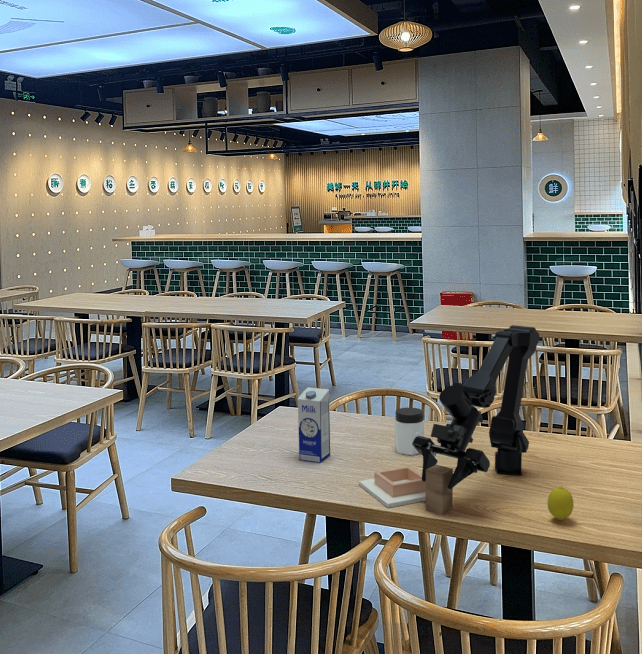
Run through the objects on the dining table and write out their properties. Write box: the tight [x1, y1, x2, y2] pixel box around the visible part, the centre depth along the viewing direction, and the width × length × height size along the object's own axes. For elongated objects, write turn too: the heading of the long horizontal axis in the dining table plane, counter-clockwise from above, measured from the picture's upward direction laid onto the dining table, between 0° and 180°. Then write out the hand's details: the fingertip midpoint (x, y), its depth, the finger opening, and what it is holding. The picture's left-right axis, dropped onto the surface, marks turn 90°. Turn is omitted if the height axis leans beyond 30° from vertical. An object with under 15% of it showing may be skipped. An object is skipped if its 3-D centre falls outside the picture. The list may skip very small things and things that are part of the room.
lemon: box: [547, 486, 574, 521], centre depth 159 cm, size 6×6×8 cm
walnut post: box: [425, 464, 454, 516], centre depth 165 cm, size 4×4×10 cm
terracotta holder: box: [358, 466, 426, 509], centre depth 178 cm, size 16×16×4 cm
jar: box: [394, 407, 425, 456], centre depth 207 cm, size 9×8×12 cm
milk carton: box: [297, 387, 331, 464], centre depth 202 cm, size 7×7×20 cm
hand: (435, 484), depth 164 cm, fingers open, 7 cm apart
